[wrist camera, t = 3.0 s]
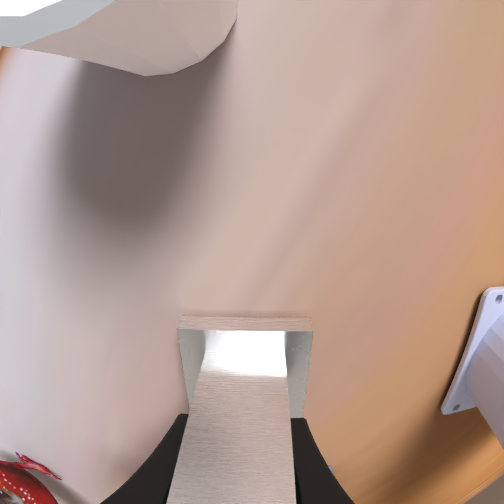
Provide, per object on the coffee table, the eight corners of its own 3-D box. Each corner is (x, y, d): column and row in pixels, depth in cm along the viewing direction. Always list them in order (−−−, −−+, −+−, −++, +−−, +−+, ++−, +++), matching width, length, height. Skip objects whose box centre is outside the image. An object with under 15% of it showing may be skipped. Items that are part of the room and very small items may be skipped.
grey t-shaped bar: (309, 317, 12) (351, 502, 5) (298, 419, 14) (310, 565, 7) (183, 315, 12) (110, 487, 5) (197, 417, 14) (166, 558, 7)
